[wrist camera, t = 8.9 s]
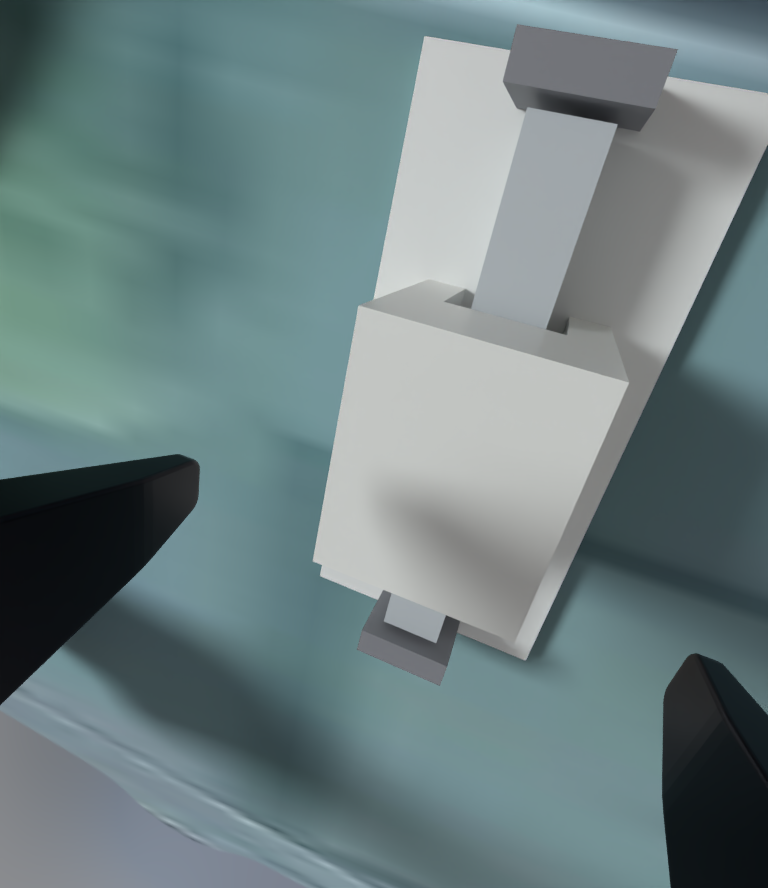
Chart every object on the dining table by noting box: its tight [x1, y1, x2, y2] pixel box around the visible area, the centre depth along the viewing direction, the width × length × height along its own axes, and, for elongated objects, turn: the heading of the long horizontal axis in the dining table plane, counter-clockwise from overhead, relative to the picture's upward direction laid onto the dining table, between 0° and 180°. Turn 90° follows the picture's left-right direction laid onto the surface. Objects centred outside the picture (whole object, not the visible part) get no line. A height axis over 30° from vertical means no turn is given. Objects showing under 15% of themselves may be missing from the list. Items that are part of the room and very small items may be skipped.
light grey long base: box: [320, 25, 768, 686], centre depth 16 cm, size 19×9×4 cm, turn 168°
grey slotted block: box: [313, 279, 629, 643], centre depth 15 cm, size 7×6×6 cm
